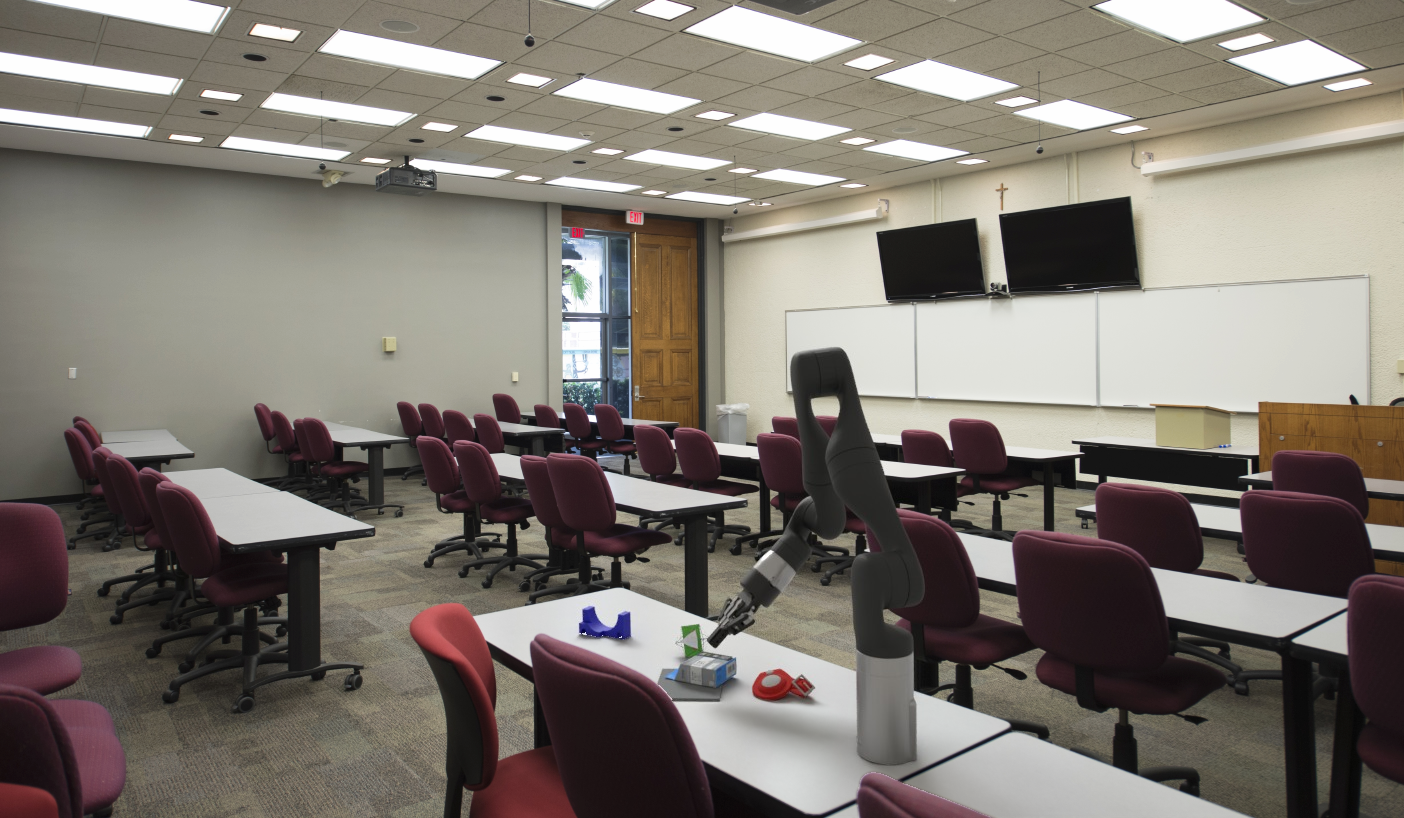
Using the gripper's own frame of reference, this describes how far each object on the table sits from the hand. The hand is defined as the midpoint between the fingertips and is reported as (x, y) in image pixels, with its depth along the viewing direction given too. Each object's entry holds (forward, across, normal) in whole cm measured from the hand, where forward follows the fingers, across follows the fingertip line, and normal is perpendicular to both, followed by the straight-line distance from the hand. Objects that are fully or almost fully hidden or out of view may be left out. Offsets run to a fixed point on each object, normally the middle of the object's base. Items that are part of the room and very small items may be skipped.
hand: (710, 644), depth 169 cm
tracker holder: (-2, +6, +15) cm, 17 cm away
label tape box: (+2, -2, +8) cm, 8 cm away
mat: (+9, -4, +4) cm, 10 cm away
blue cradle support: (+17, -41, -4) cm, 45 cm away
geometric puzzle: (+5, -21, +8) cm, 23 cm away
